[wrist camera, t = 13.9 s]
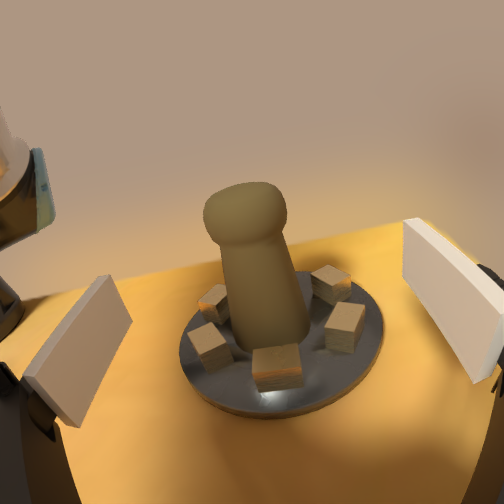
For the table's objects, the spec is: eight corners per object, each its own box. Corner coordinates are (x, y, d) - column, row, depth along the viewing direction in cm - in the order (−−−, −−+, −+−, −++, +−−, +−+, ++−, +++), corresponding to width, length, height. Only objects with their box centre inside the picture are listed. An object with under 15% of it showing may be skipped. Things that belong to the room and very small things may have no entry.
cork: (242, 306, 26) (208, 183, 21) (311, 301, 24) (290, 169, 20) (225, 356, 20) (174, 211, 16) (309, 353, 19) (284, 192, 14)
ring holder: (146, 371, 21) (130, 344, 20) (249, 272, 33) (243, 248, 32) (339, 451, 13) (340, 426, 11) (396, 288, 24) (397, 259, 23)
